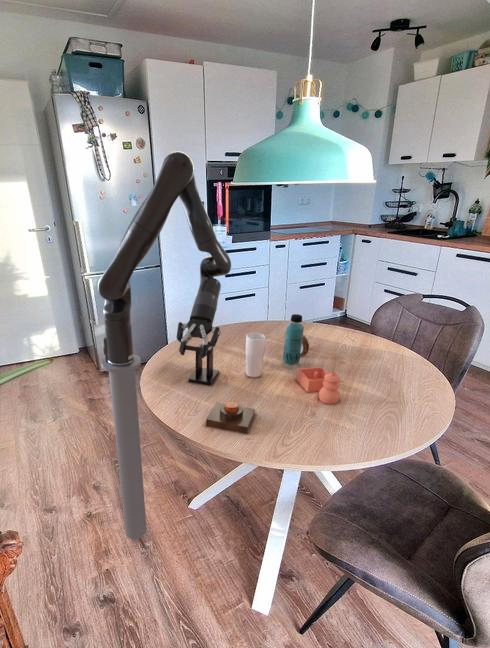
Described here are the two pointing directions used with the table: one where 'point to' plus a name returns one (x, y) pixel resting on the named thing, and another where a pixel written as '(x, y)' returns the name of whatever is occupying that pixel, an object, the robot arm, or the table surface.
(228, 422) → the button block
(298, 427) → the table surface
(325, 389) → the pottery
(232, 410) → the button
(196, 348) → the lever
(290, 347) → the beverage bottle
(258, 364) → the drinking glass
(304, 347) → the brown curved piece
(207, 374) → the lever stand
